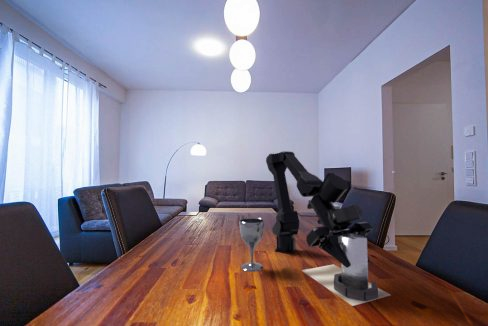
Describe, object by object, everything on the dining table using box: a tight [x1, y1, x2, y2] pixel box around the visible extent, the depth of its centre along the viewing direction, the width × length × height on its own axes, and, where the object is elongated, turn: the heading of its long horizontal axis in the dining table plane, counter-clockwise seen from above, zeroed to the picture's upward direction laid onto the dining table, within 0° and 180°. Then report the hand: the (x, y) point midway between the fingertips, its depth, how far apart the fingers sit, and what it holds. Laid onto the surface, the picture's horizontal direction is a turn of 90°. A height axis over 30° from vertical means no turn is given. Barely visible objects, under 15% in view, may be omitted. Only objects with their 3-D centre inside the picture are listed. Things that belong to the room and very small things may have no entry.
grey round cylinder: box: [340, 234, 369, 290], centre depth 56 cm, size 6×6×13 cm
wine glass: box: [239, 217, 265, 273], centre depth 72 cm, size 8×8×15 cm
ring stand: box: [301, 263, 391, 307], centre depth 60 cm, size 19×12×3 cm, turn 20°
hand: (358, 264), depth 54 cm, fingers closed on grey round cylinder, 6 cm apart
